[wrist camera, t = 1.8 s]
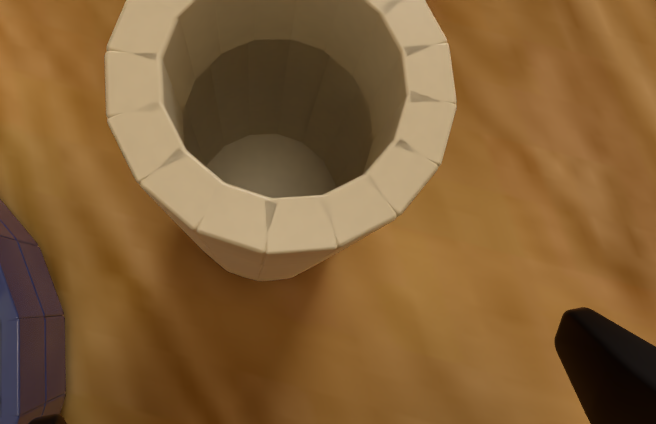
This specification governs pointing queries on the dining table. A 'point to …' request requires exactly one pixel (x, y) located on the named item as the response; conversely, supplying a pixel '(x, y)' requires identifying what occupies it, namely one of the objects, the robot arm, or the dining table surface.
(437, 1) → the dining table surface
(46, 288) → the bowl
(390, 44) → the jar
